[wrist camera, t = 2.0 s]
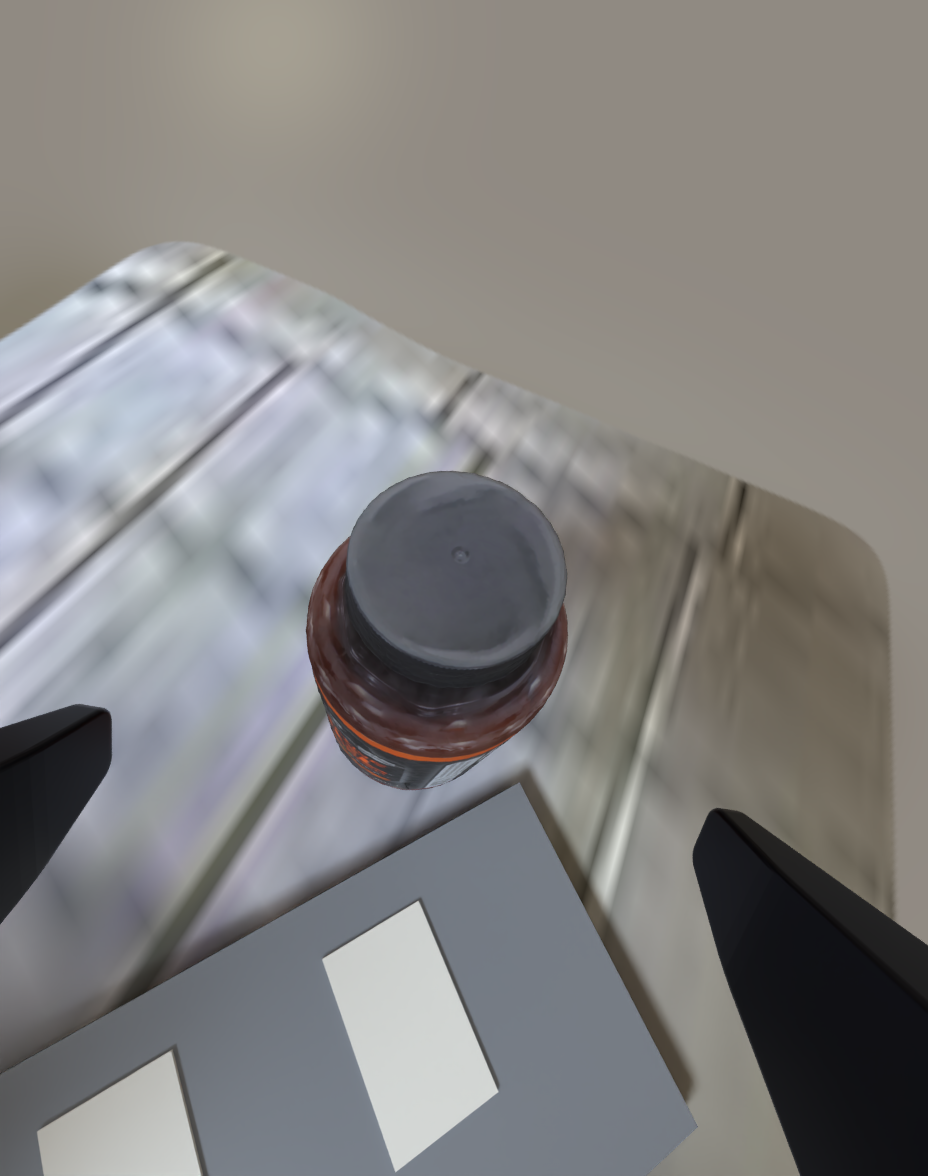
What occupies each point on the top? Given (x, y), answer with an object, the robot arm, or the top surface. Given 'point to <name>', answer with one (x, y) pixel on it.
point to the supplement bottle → (438, 627)
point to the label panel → (372, 1037)
